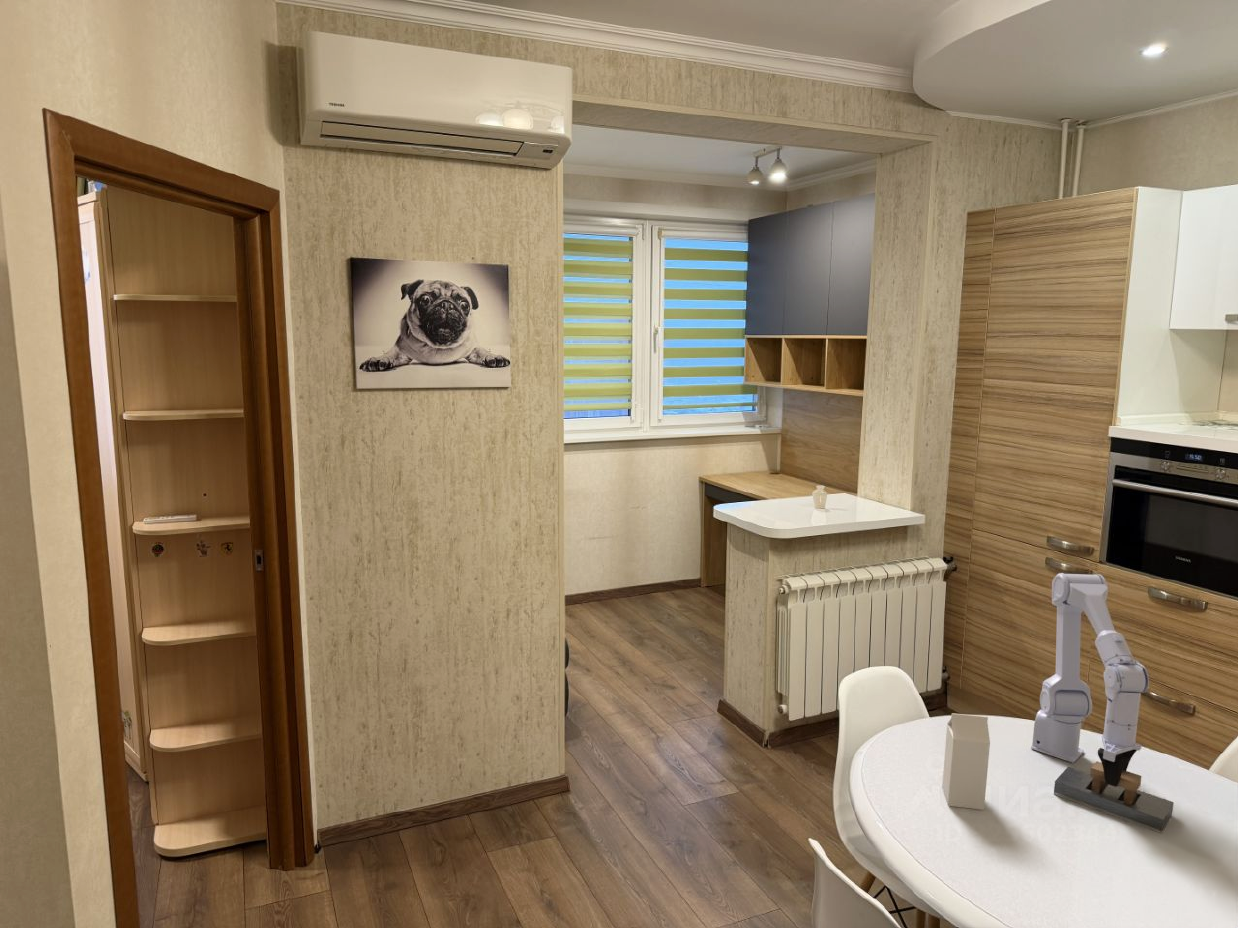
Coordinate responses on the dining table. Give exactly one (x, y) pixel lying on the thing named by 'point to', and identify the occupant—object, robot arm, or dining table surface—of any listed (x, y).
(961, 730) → the milk carton
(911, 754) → the dining table surface
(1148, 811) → the grey slotted block
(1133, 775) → the wooden arch block
